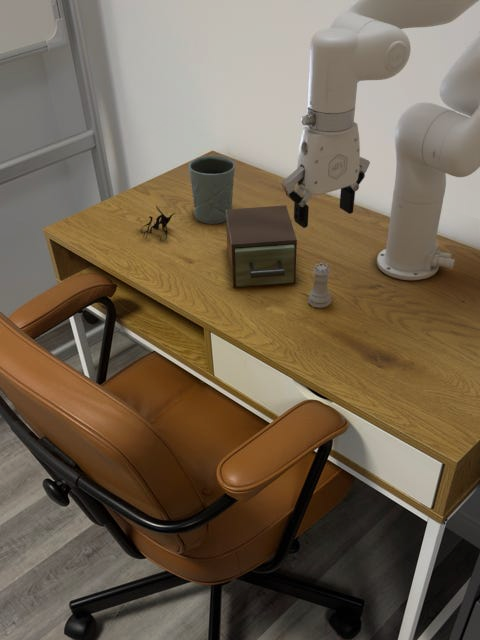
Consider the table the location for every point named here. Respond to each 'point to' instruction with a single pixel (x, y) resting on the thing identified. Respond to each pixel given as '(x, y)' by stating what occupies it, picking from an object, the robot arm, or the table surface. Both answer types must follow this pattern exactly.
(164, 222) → the creature
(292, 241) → the cabinet
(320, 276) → the rook chess piece
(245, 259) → the drawer
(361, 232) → the table surface
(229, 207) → the grey green cup
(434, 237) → the robot arm
